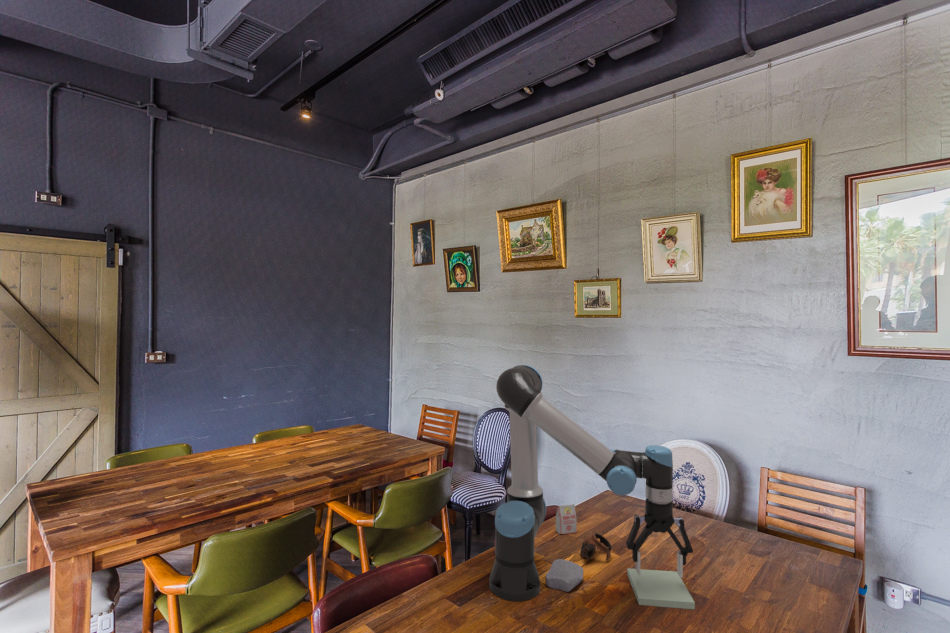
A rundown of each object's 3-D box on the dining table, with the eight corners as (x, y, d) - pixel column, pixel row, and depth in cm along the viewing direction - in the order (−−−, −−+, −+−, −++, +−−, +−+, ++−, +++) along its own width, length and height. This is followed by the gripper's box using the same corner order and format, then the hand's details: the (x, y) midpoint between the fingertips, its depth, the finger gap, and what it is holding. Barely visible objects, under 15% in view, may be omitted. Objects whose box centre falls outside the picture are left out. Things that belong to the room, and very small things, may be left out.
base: (638, 605, 131) (638, 598, 131) (627, 574, 147) (627, 568, 147) (694, 609, 129) (694, 602, 129) (677, 578, 145) (677, 571, 145)
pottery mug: (584, 547, 164) (596, 528, 164) (606, 568, 159) (618, 548, 158) (570, 553, 155) (582, 533, 154) (592, 575, 149) (606, 554, 148)
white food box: (555, 530, 177) (555, 504, 177) (571, 528, 179) (571, 502, 179) (560, 535, 174) (560, 508, 174) (576, 532, 176) (576, 506, 176)
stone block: (584, 580, 146) (553, 567, 150) (587, 566, 145) (556, 553, 150) (575, 602, 135) (542, 587, 139) (578, 587, 135) (545, 572, 139)
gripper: (620, 502, 136) (620, 577, 136) (705, 506, 133) (705, 583, 133) (615, 493, 143) (615, 564, 143) (696, 497, 140) (696, 569, 140)
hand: (658, 573), depth 138 cm, fingers open, 11 cm apart
